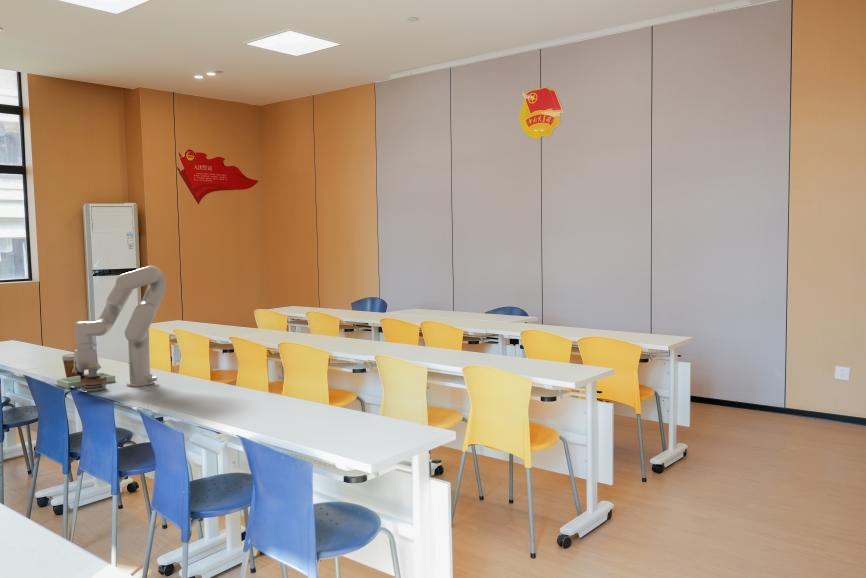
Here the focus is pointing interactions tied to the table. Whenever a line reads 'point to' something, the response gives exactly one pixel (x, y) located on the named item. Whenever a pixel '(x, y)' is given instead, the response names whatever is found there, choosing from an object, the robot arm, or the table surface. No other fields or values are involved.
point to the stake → (93, 375)
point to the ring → (93, 380)
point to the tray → (77, 381)
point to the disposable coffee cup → (69, 365)
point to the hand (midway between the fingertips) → (87, 383)
